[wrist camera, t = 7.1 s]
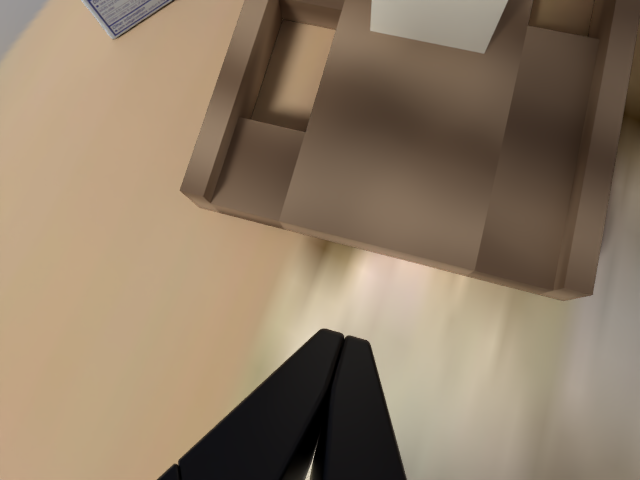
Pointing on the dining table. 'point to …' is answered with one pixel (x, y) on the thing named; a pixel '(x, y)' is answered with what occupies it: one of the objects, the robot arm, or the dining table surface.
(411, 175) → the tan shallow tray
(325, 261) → the dining table surface
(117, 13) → the medicine box
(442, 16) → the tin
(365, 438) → the robot arm
